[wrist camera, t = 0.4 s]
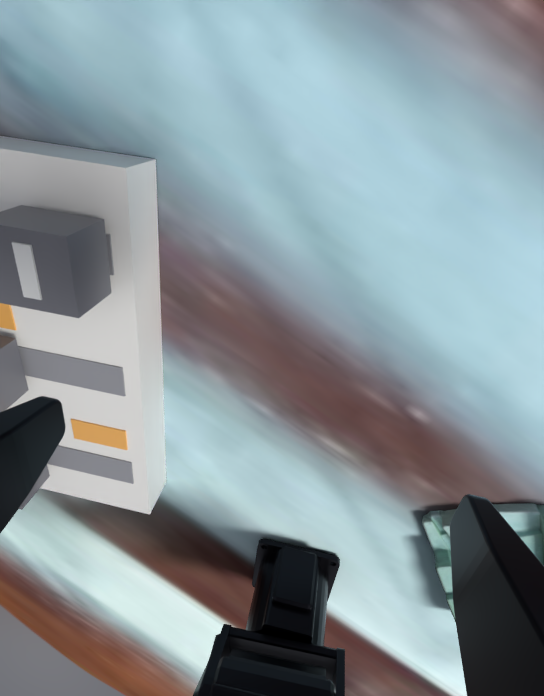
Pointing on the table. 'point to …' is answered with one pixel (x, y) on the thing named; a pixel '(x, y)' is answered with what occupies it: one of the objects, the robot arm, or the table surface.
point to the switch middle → (10, 373)
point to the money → (526, 519)
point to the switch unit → (97, 325)
